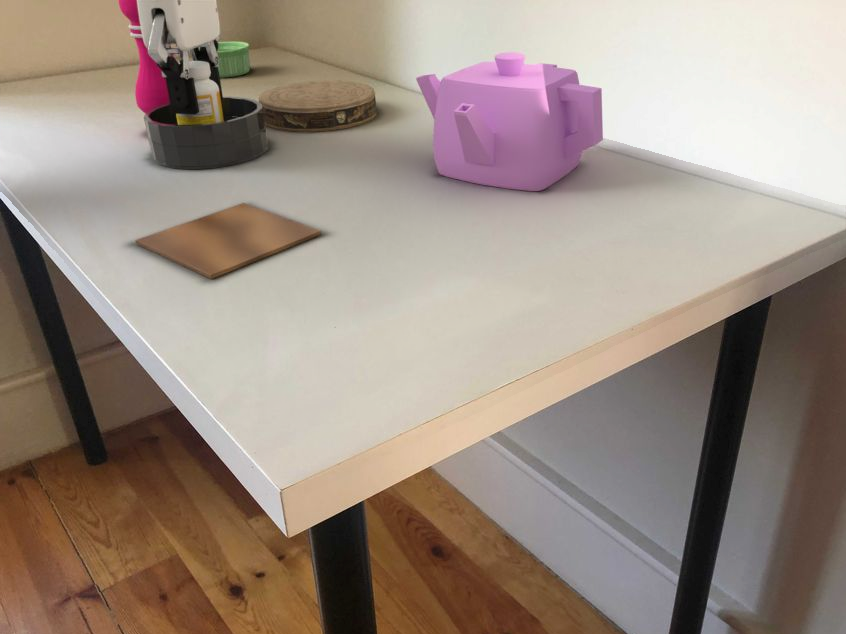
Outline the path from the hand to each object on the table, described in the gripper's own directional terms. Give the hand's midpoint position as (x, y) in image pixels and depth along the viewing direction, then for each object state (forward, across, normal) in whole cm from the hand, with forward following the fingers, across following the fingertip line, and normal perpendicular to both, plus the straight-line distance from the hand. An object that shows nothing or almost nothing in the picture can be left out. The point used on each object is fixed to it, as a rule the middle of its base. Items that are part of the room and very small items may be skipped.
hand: (198, 105), depth 94 cm
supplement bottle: (+5, 0, 0) cm, 5 cm away
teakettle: (+5, +2, +37) cm, 38 cm away
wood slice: (+6, -18, +8) cm, 20 cm away
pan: (+6, 0, 0) cm, 6 cm away
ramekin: (+6, -43, -18) cm, 47 cm away
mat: (+6, +25, +15) cm, 30 cm away
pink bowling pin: (+6, -8, -9) cm, 13 cm away
